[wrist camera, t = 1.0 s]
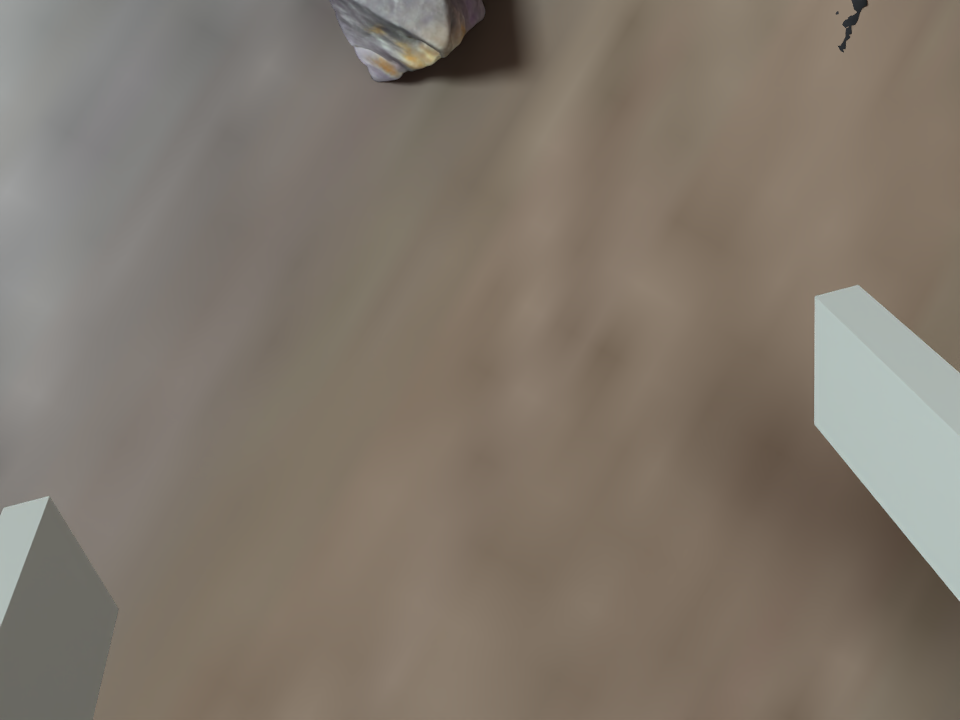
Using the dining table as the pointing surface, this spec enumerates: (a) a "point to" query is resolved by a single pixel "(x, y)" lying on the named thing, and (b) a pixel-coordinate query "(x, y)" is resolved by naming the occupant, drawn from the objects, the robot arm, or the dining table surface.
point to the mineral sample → (424, 31)
